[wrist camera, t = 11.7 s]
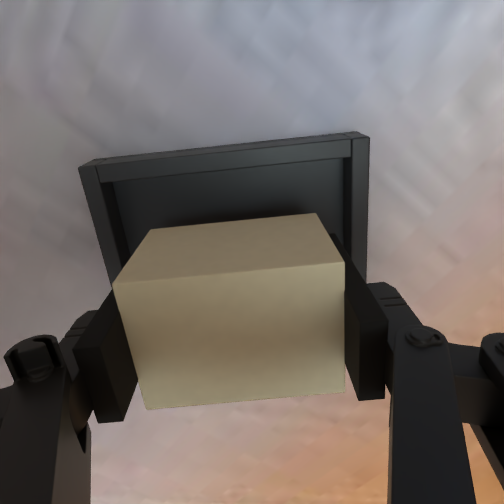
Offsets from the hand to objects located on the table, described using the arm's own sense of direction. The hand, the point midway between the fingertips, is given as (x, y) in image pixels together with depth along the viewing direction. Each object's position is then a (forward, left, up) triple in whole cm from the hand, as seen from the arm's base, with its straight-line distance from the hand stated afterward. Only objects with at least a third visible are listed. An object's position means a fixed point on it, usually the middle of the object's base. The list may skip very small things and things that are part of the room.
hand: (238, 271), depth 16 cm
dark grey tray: (0, 0, -4) cm, 4 cm away
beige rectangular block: (0, 0, 0) cm, 0 cm away
